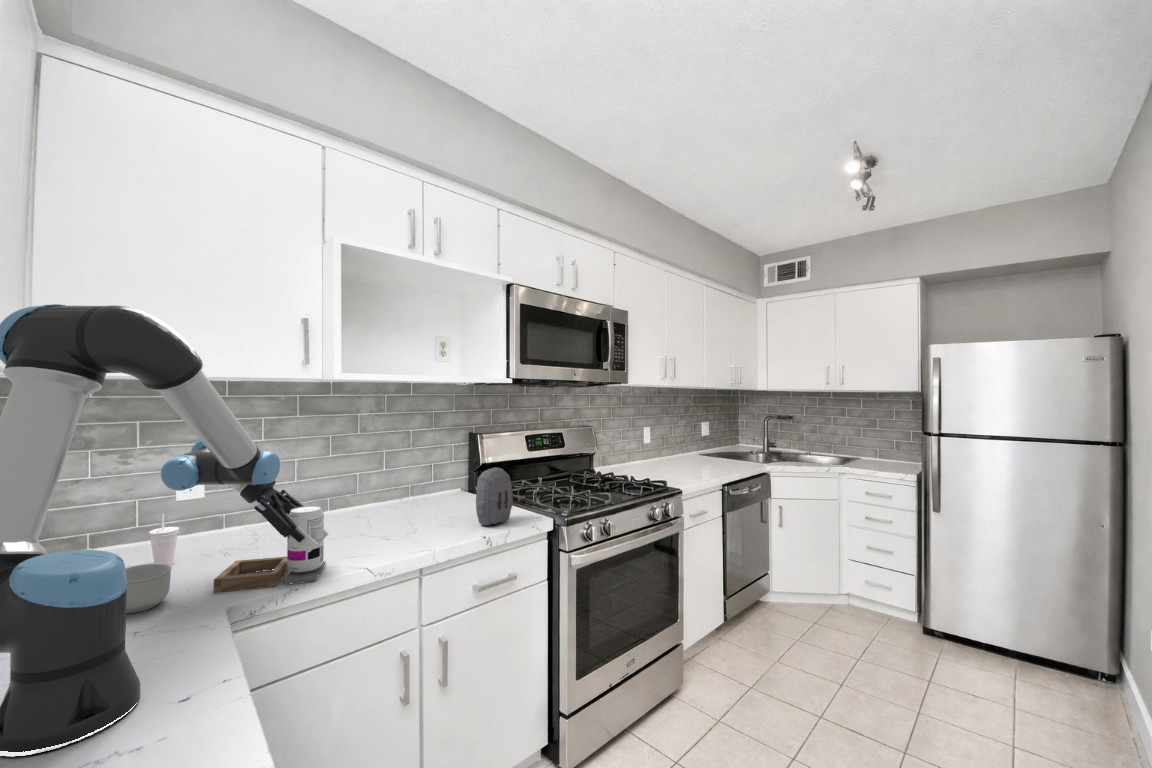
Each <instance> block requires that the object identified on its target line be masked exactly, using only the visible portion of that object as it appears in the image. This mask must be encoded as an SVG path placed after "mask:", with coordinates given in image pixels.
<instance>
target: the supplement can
mask: <svg viewBox="0 0 1152 768" xmlns="http://www.w3.org/2000/svg"><path fill="white" fill-rule="evenodd" d="M287 515H288V514H287ZM288 516H289V518H290V519H291V520H292V522H293V523H294V524H295V526H296V528H297V527H298V526H299V527H300V528H301V529H303V530H304V531H305V532H306V533H307V534H308V535H309V536H310V537H312V538H313V539H314V540H315V541H316V542H317V543H318V545H317V546H316V547H315V548H313V549H312V550H311V551H310V552H308V551H307V550H306V549H304V548H303V547H302V546H301V545H300V544H299V543H298V542H296V541H295V540H294V539H293V538H292V537H291V536H290V535H288V536H287V537H286V540H287V541H286V542H287V544H286V545H287V546H286V547H287V548H286V550H287V552H286V553H287V555H286V557H287V569H289V571H290V572H291V571H292V572H307V571H311V570H314V569H317V568H319V567H320V566H321V565H322V564H323V561H324V545H325V543H324V542H325V541H324V540H325V538H324V529H325V524H324V523H325V513H324V511H323V509H322V506H319V505H305V506H304V507H298V508H294V509H292V510H291V512H290V513H289V515H288Z"/></svg>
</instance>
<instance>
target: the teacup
mask: <svg viewBox="0 0 1152 768" xmlns="http://www.w3.org/2000/svg"><path fill="white" fill-rule="evenodd" d="M172 568H173V567H172V565H171V566H170V565H168V564H163V563H154V562H153V563H144V564H143V563H142V564H136V565H131V566H127V567H126V566H125V572H126V578H127V583H128V585H127V597H126V614H135V613H136V614H137V613H141V612H144V611H147V610H149V609H152V608H154V607H156V606H157V605H159V604H160V603H161V602H162V601H163V600H164V599H165V598H166V597H167V596H168V594H169V592H170V588H171V574H172V573H171V572H172Z"/></svg>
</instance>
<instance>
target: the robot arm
mask: <svg viewBox="0 0 1152 768" xmlns="http://www.w3.org/2000/svg"><path fill="white" fill-rule="evenodd" d="M0 361H1V362H2V363H3V364H4V365H5V366H4V368H3V371H2V373H3V374H4V376H5V377H6V378H7V379H8V380H9V382H10V383H11V384H12V387H11V389H10V391H9V394H8V397H7V400H6V402H5V405H4V407H3V408H2V412H1V414H0V653H1V654H3V653H4V654H5V653H6V654H8V653H9V654H10V656H9V657H10V659H9V662H10V663H9V668H10V670H9V671H10V672H9V675H10V676H9V684H8V688H7V689H6V692H5V694H4V697H3V699H2V701H1V704H0V751H8V752H23V751H24V752H25V751H31V750H36V749H42V748H46V747H51V746H55V745H59V744H63V743H66V742H69V741H72V740H75V739H78V738H80V737H82V736H85V735H87V734H88V733H91V732H94V731H95V730H97V729H100V728H102V727H104V726H106V725H107V724H109V723H111V722H113V721H114V720H116V719H117V718H119V717H121V716H122V715H124V714H125V713H126V712H128V711H129V710H130V709H131V708H132V707H133V706H134V705H135V704H136V703H137V702H138V701H139V702H140V700H139V699H141V681H140V678H139V677H138V674H137V673H136V671H135V669H134V666H133V663H132V661H131V660H130V658H129V656H128V654H127V651H126V632H127V631H126V630H127V629H126V628H127V627H126V626H127V625H126V624H127V613H126V597H127V585H128V583H127V578H126V572H125V568H126V564H125V561H124V559H122V557H120V556H119V555H118V554H116V553H114V552H110V551H107V550H98V549H76V550H73V551H67V550H64V551H63V550H62V551H55V552H50V553H48V551H47V549H45V547H44V546H42V544H41V543H40V541H39V537H40V535H41V533H42V530H43V526H44V523H45V520H46V517H47V514H48V511H49V509H50V505H51V502H52V499H53V497H54V493H55V490H56V487H57V485H58V481H59V478H60V475H61V473H62V469H63V466H64V464H65V461H66V457H67V455H68V451H69V449H70V446H71V443H72V439H73V437H74V434H75V432H76V429H77V425H78V422H79V419H80V416H81V413H82V409H83V407H84V403H85V400H86V398H87V397H88V396H90V395H92V394H94V393H96V392H98V391H100V390H102V388H103V385H104V381H105V378H106V375H107V374H125V375H129V376H131V377H133V378H136V379H137V380H139V381H140V382H141V383H142V384H143V386H144V387H145V388H147V389H148V390H151V391H155V392H158V394H160V396H161V397H163V399H164V400H165V401H166V402H167V403H168V405H169V406H170V407H171V409H173V411H175V412H176V414H177V415H178V416H179V418H180V419H181V420H182V421H183V422H184V423H185V424H186V425H187V427H189V429H190V431H192V432H193V433H194V435H195V436H196V437H197V439H199V440H198V441H197V442H195V443H194V444H193V446H192V447H191V451H188V452H186V453H183V454H179V455H177V456H175V457H173V458H172V459H168V460H167V461H166V462H165V463H164V464H163V465H162V467H161V469H160V476H161V477H160V478H161V481H162V482H163V485H165V486H166V487H167V488H168V489H170V490H172V491H178V492H179V491H181V492H182V491H185V490H189V489H192V488H195V486H213V485H214V486H216V485H217V486H222V485H223V486H224V485H227V487H228V488H229V489H232V490H234V491H235V492H236V493H239V496H240V497H241V498H242V499H243V500H244V501H246V502H247V503H249V504H254V503H256V502H257V504H256V505H255V506H254V507H253V508H254V510H255V511H257V512H258V513H259V514H261V515H262V516H263V518H264V519H265V520H266V521H267V522H268V523H269V524H270V525H271V526H272V527H273V528H274V529H275V530H276V531H277V532H278V534H279V535H280V536H282V537H283V538H285V539H287V536H288V535H290V536H291V537H292V538H293V539H294V540H295V541H296V542H298V543H299V544H300V545H301V546H302V547H303V548H304V549H306V550H307V551H308V552H310V551H311V550H312V549H313V548H315V547H316V546H317V545H318V543H317V542H316V541H315V540H314V539H313V538H312V537H310V536H309V535H308V534H307V533H306V532H305V531H304V530H303V529H301V528H300V527H299V526H298V527H297V528H296V526H295V524H294V523H293V522H292V520H291V519H290V518H289V516H288V515H289V513H290V512H291V510H292V509H294V508H298V507H305V506H304V505H303V504H302V503H301V502H299V501H298V500H297V499H295V498H294V497H292V495H291V494H289V493H288V492H287V491H286V490H285V489H281V491H278V490H276V489H275V488H274V486H275V485H276V479H277V478H278V474H279V473H280V469H281V460H280V458H279V455H278V454H277V453H276V452H273V451H267V450H264V451H261V450H260V449H259V447H258V446H257V445H256V443H255V442H254V441H253V440H252V438H251V437H250V436H249V433H248V432H247V431H246V430H245V429H244V427H243V426H242V424H241V423H240V421H239V420H238V419H237V417H236V416H235V414H234V413H233V411H232V410H231V409H230V407H228V405H227V404H226V402H225V401H224V399H223V398H222V396H221V395H220V394H219V393H218V391H217V390H216V388H215V386H214V385H213V384H212V383H211V381H210V380H209V378H208V377H207V375H206V374H205V372H204V371H203V367H204V362H203V359H202V358H201V357H200V355H199V354H198V352H197V351H196V350H195V349H194V347H193V346H192V345H191V344H190V343H189V342H188V341H187V340H186V339H185V338H184V337H183V335H181V334H180V333H178V332H177V331H176V330H175V329H174V328H173V327H171V326H169V325H168V324H167V323H165V322H164V321H163V320H160V319H159V318H158V317H156V316H154V315H153V314H150V313H149V312H148V313H147V312H145V311H143V310H140V309H137V308H134V307H129V306H124V305H123V306H122V305H66V304H59V303H58V304H57V303H55V304H54V303H53V304H43V305H33V306H28V307H24V308H20V309H17V310H16V311H14V312H12V313H10V314H8V316H6V317H5V318H4V319H3V320H2V321H1V322H0ZM329 534H330V532H329V531H328V530H326V528H324V539H325V538H327V536H328V535H329ZM139 702H138V703H139Z"/></svg>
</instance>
